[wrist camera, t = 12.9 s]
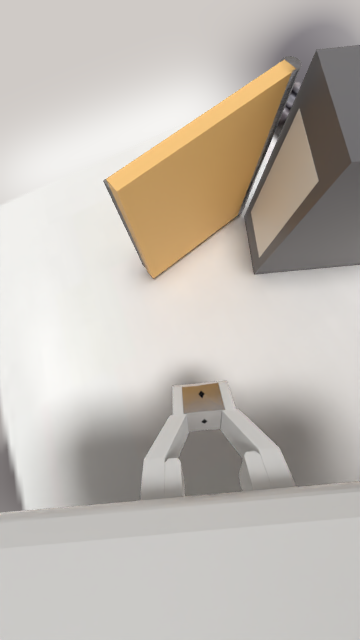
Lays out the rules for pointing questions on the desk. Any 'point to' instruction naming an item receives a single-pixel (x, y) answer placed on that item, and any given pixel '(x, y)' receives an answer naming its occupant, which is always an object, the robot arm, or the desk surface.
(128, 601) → the robot arm
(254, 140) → the side door
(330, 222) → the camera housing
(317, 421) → the desk surface
